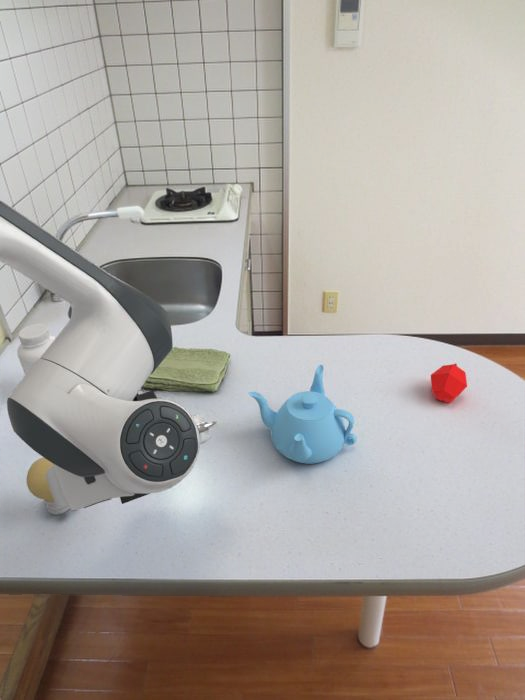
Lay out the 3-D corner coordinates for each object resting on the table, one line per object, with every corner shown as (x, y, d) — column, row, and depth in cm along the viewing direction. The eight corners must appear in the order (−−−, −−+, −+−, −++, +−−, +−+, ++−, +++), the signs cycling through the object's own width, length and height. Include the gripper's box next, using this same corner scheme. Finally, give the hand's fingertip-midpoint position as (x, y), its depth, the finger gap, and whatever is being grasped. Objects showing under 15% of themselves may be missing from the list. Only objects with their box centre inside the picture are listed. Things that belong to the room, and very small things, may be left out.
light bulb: (38, 528, 80) (18, 484, 74) (41, 496, 85) (23, 452, 80) (81, 518, 81) (65, 474, 76) (82, 487, 86) (67, 443, 81)
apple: (458, 392, 95) (472, 358, 98) (421, 384, 99) (436, 352, 102) (463, 413, 99) (476, 380, 103) (428, 405, 103) (442, 373, 107)
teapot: (366, 453, 90) (371, 408, 84) (291, 488, 85) (291, 442, 79) (319, 405, 101) (321, 362, 95) (250, 433, 95) (247, 389, 90)
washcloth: (219, 396, 104) (218, 383, 103) (135, 390, 107) (132, 378, 105) (232, 358, 115) (231, 346, 113) (155, 353, 118) (153, 341, 116)
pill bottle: (34, 385, 110) (12, 324, 101) (74, 377, 112) (55, 316, 103) (32, 408, 103) (8, 346, 95) (74, 399, 105) (55, 337, 97)
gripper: (210, 396, 64) (187, 411, 77) (37, 462, 56) (43, 467, 68) (230, 444, 63) (203, 452, 76) (57, 518, 55) (59, 513, 68)
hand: (126, 460), depth 72 cm, fingers closed on pad block, 4 cm apart
